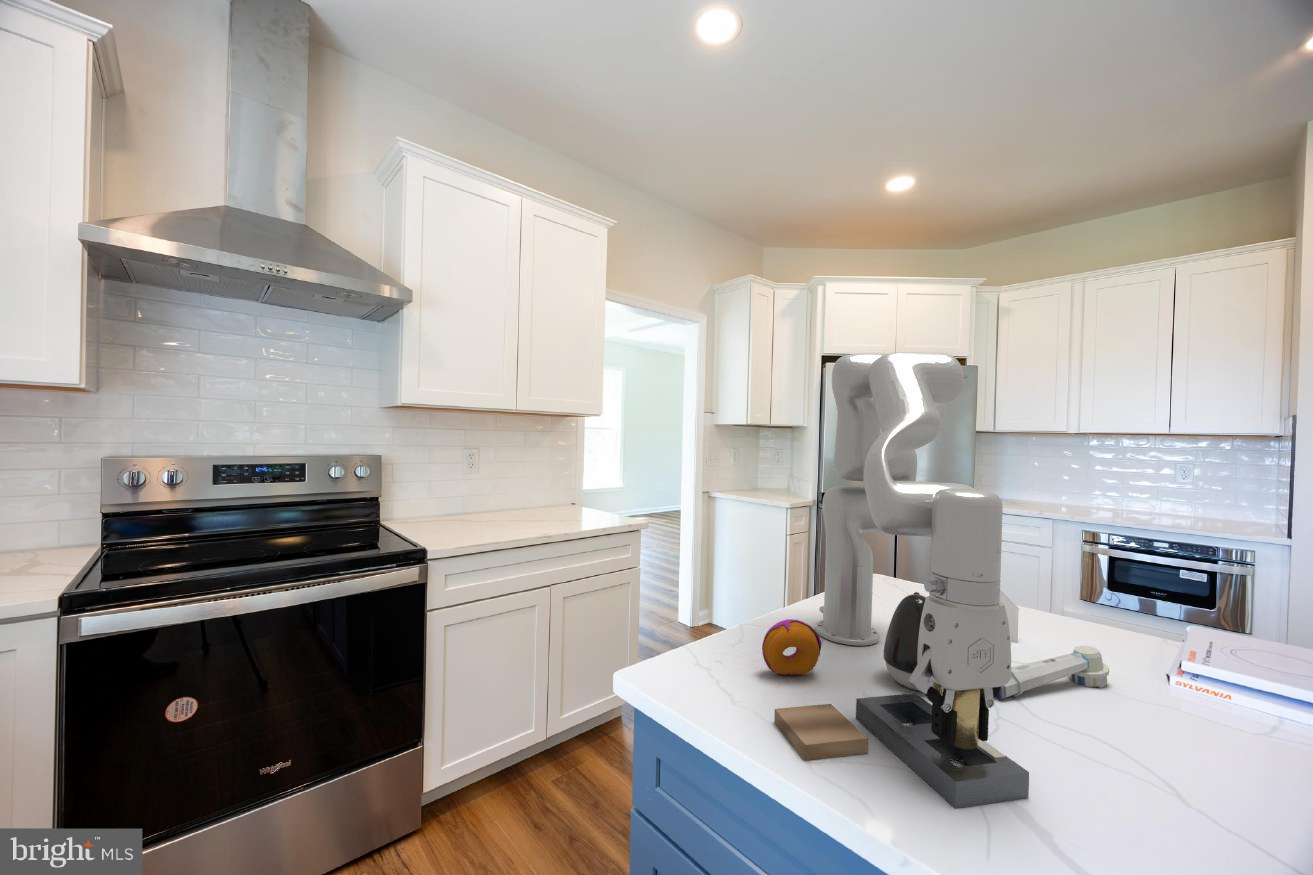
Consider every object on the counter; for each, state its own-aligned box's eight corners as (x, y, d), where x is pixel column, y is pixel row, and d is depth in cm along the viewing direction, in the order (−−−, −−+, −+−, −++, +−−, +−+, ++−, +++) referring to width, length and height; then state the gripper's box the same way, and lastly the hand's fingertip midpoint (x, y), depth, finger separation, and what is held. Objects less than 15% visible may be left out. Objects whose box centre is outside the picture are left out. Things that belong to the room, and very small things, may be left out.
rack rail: (855, 718, 77) (856, 697, 77) (914, 712, 79) (915, 691, 79) (955, 808, 59) (956, 780, 59) (1028, 797, 61) (1029, 770, 61)
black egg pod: (946, 677, 92) (949, 591, 92) (952, 704, 82) (955, 608, 82) (883, 665, 96) (886, 583, 96) (881, 689, 87) (884, 598, 87)
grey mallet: (977, 667, 88) (1082, 634, 95) (980, 706, 88) (1085, 670, 96) (1006, 681, 83) (1115, 645, 90) (1009, 722, 83) (1118, 683, 90)
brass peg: (933, 732, 66) (935, 676, 66) (960, 729, 67) (962, 674, 67) (958, 750, 62) (960, 692, 62) (986, 747, 63) (988, 689, 63)
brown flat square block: (774, 722, 76) (774, 708, 76) (830, 717, 78) (831, 703, 78) (805, 760, 67) (805, 744, 67) (867, 753, 69) (868, 738, 69)
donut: (771, 661, 96) (772, 607, 96) (823, 673, 92) (824, 617, 92) (758, 678, 90) (759, 620, 90) (813, 692, 85) (815, 631, 85)
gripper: (927, 601, 59) (922, 762, 59) (1047, 595, 63) (1042, 747, 63) (884, 582, 67) (880, 726, 67) (994, 578, 70) (990, 715, 70)
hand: (959, 735), depth 65 cm, fingers closed on brass peg, 4 cm apart
